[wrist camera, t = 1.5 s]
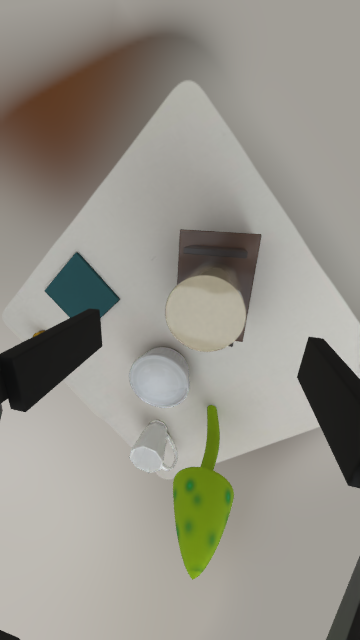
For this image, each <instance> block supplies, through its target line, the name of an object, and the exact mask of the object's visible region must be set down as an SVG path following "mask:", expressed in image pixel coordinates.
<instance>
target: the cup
mask: <svg viewBox="0 0 360 640" xmlns="http://www.w3.org/2000/svg"><path fill="white" fill-rule="evenodd" d="M166 431H167V427H166V425H165V424H164V422H161V421H159V420H154V421H151V422H150V425H148V427H147V428H146V429H145V430H144V431H143V433H142V434H141V436H140V437H139V439H138V440H137V442H136V443H135V445H134V446H133V448H132V450H131V454H130V457H129V458H130V460H131V461H132V462H133V463H134V465H135V466H136V467H137V468H139V469H141V470H143V471H146V472H148V473H150V472H155V471H160V469H161V468H162V469H164V470H166V471H168V470H170V469H172V468H174V466H175V464H176V462H177V459H178V453H177V449H176V447H175V445H174V443H173V441H172V439H171V437H170V436H169V434H168V433H166ZM166 438H167V439H168V441H169V442H170V444H171V447H172V449H173V451H174V454H175V460H174V463H173V465H172V466H171V467H167V466H166V465H165V464H164V463H163V461H164V453H165V446H166Z"/></svg>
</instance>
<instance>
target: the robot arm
mask: <svg viewBox="0 0 360 640" xmlns="http://www.w3.org/2000/svg"><path fill="white" fill-rule="evenodd" d="M101 347H102V336H101V322H100V310H99V309H91V308H89V309H87V310H85V311H83V312H81V313H79V314H77V315H75V316H73V317H71V318H69V319H67V320H66V321H64V322H62V323H60V324H58V325H56V326H54V327H52V328H50V329H48V330H46V331H44V332H42V333H40V334H38V335H36V336H34V337H33V338H31V339H28V340H26V341H24V342H22V343H21V344H19V345H17V346H15V347H13V348H11V349H9V350H7V351H5V352H3V353H1V354H0V419H1V414H2V405H1V403H2V402H3V401H5V400H6V399H9V403H10V407H11V409H14V410H18V411H23V412H26V411H27V410H29V409H30V408H31V407H32V406H33V405H34V404H36V403H37V402H38V401H39V400H40V399H41V398H42V397H44V396H45V395H46V394H47V393H48V392H49V391H50V390H52V389H53V388H54V387H55V386H56V385H58V384H59V383H60V382H61V381H62V380H63V379H65V378H66V377H67V376H68V375H69V374H70V373H72V372H73V371H74V370H75V369H76V368H77V367H79V366H80V365H81V364H82V363H83V362H84V361H85V360H87V359H88V358H89V357H90V356H91V355H92V354H94V353H95V352H96V351H97V350H98V349H99V348H101ZM297 378H298V380H299V382H300V384H301V387H302V389H303V391H304V393H305V395H306V397H307V399H308V401H309V403H310V406H311V408H312V410H313V412H314V414H315V416H316V418H317V420H318V423H319V425H320V427H321V429H322V431H323V433H324V435H325V437H326V439H327V442H328V444H329V446H330V448H331V450H332V452H333V454H334V456H335V459H336V461H337V463H338V465H339V467H340V469H341V471H342V473H343V475H344V477H345V480H346V482H347V484H348V485H349V486H352V487H357V488H360V379H359V378H358V377H357V376H356V375H355V373H354V372H353V371H352V370H351V369H350V368H349V367H348V366H347V365H346V363H345V362H344V361H343V360H342V359H341V358H340V357H339V356H338V355H337V353H336V352H335V351H334V350H333V349H332V348H331V347H330V346H329V345H328V343H327V342H326V341H325V340H324V339H321V338H314V337H309V338H308V341H307V345H306V348H305V352H304V355H303V358H302V362H301V365H300V369H299V372H298V376H297ZM0 640H20V639H19V638H17V637H15V636H13V635H10V634H8V633H6V632H4V631H1V630H0ZM326 640H360V557H359V559H358V562H357V564H356V567H355V569H354V572H353V574H352V576H351V579H350V581H349V584H348V586H347V589H346V592H345V594H344V596H343V599H342V601H341V604H340V606H339V609H338V611H337V614H336V616H335V619H334V621H333V624H332V626H331V629H330V631H329V634H328V636H327V639H326Z"/></svg>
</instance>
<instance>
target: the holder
mask: <svg viewBox="0 0 360 640" xmlns="http://www.w3.org/2000/svg"><path fill="white" fill-rule="evenodd" d="M260 240H261V234H248V233H232V232H215V231H199V230H182V229H181V230H180V243H179V262H178V280H177V285H178V284H179V283H180V282H181V281H182V280H183V279H184V278H186V277H187V276H188V275H189V274H190V273H191V272H192V271H193V270H194V269H195V268H196V267H198V266H199V265H201V264H203V263H206V262H210V261H217V262H222V263H225V264H227V265H229V266H230V267H231V268H233V269H234V270H235V272H236V273H237V274H238V276H239V279H240V282H241V287H242V292H243V298H244V303H245V308H246V319H247V314H248V308H249V302H250V297H251V291H252V285H253V280H254V274H255V268H256V263H257V257H258V251H259V246H260ZM245 325H246V321H245ZM245 325H244V328H243V330H242V332H241V334H240V335H239V337H238V338H237V339H236V340H235V341H240V342H242V341H243V336H244V331H245ZM229 346H231V347H232V346H233V343H232V344H230V345H229Z"/></svg>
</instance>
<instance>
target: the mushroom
mask: <svg viewBox="0 0 360 640" xmlns="http://www.w3.org/2000/svg"><path fill="white" fill-rule="evenodd" d="M207 419H208V425H207V442H206V449H205V454H204V457H203V461H202V464H201V467H190V468H185V469H183V470H181V471H179V472H178V473H177V474H176V476H175V478H174V482H173V497H174V512H175V522H176V530H177V536H178V542H179V546H180V551H181V554H182V558H183V561H184V564H185V567H186V569H187V571H188V574H189V575H190V577H191V578H192V579H195V578H196V577H198V576H199V575H200V574H201V573H202V572H203V570H204V569H205V568H206V566H207V565H208V563H209V561H210V560H211V558H212V556H213V554H214V552H215V550H216V548H217V546H218V544H219V542H220V539H221V536H222V534H223V531H224V529H225V526H226V523H227V520H228V517H229V513H230V510H231V506H232V502H233V498H234V492H233V489H232V486H231V485H230V483H229V482H228V481H227V480H226V479H225V478H224V477H223V476H222V475H220V474H219V473H216V472H215V471H213V469H214V466H215V463H216V459H217V455H218V450H219V440H220V432H219V422H218V415H217V409H216V407H215V406H213V405H210V406H208V407H207Z"/></svg>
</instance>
